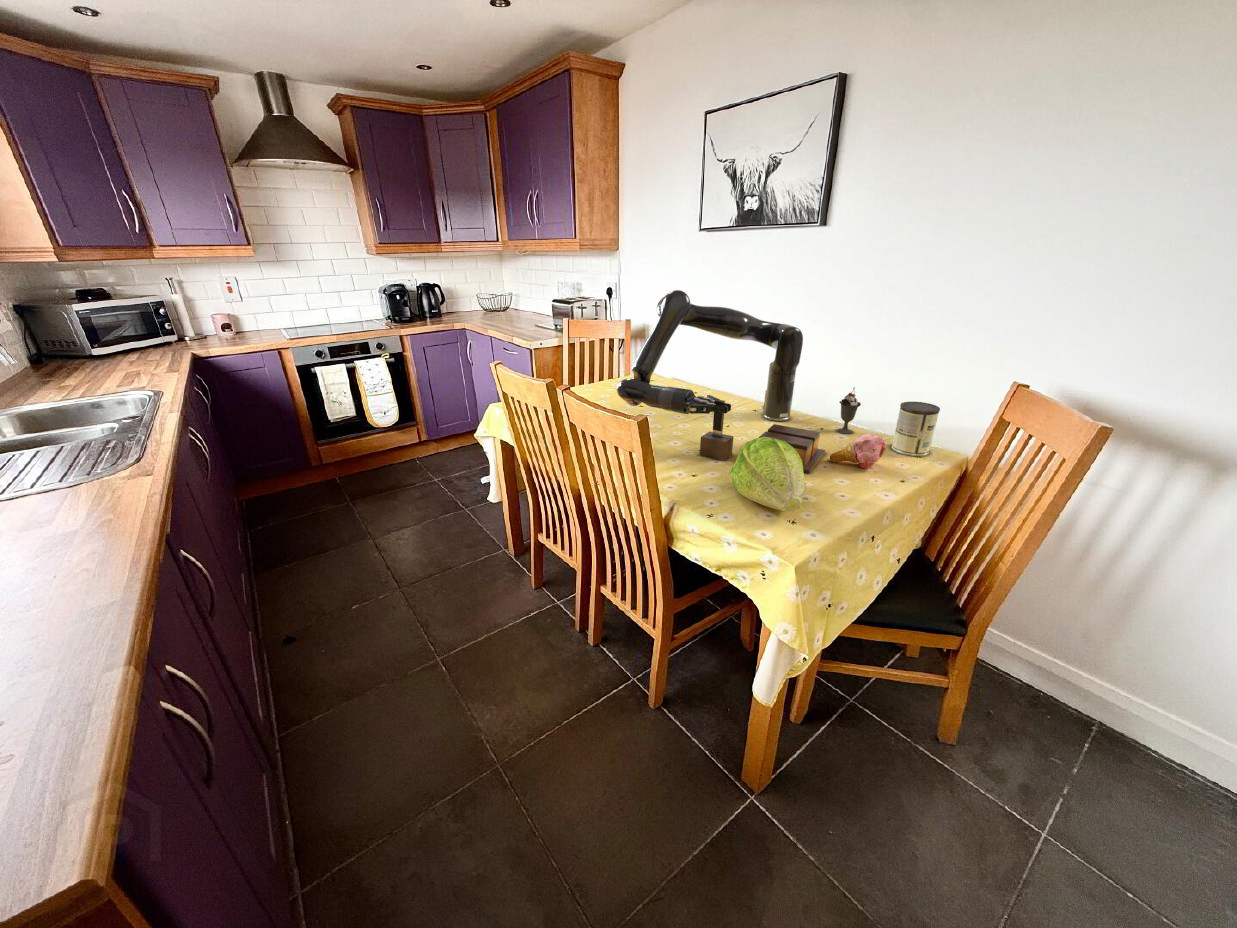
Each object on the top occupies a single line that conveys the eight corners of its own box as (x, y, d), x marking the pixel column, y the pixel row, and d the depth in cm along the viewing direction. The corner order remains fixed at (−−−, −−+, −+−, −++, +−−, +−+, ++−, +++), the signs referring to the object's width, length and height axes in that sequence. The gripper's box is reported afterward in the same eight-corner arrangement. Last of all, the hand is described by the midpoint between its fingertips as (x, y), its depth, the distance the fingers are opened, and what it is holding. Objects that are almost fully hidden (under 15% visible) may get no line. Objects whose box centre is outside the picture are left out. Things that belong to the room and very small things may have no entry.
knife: (710, 454, 152) (713, 400, 145) (712, 452, 153) (716, 399, 147) (719, 456, 151) (723, 402, 144) (721, 454, 152) (725, 400, 145)
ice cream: (828, 465, 140) (886, 451, 133) (822, 438, 145) (878, 422, 138) (838, 484, 147) (893, 471, 140) (832, 457, 153) (885, 443, 146)
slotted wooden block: (747, 459, 148) (749, 437, 146) (767, 441, 162) (769, 421, 159) (809, 473, 139) (812, 450, 136) (825, 453, 153) (828, 431, 150)
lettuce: (747, 528, 114) (766, 475, 107) (720, 472, 135) (734, 425, 128) (816, 534, 116) (839, 482, 109) (779, 478, 137) (796, 432, 130)
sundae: (851, 428, 173) (859, 386, 167) (858, 435, 167) (866, 391, 161) (831, 428, 173) (838, 385, 167) (837, 434, 167) (845, 391, 161)
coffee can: (896, 441, 161) (906, 399, 155) (932, 449, 154) (944, 405, 149) (886, 450, 154) (896, 406, 148) (923, 459, 148) (935, 413, 142)
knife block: (699, 455, 152) (700, 437, 150) (707, 449, 156) (709, 431, 154) (724, 461, 148) (725, 442, 145) (732, 454, 152) (733, 436, 150)
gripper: (665, 393, 147) (720, 402, 138) (686, 383, 157) (739, 390, 148) (664, 417, 150) (718, 427, 141) (685, 406, 160) (737, 415, 151)
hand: (728, 408), depth 145 cm, fingers closed on knife, 1 cm apart
